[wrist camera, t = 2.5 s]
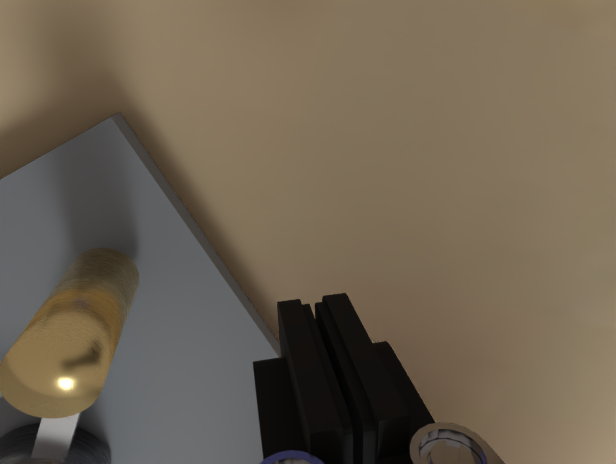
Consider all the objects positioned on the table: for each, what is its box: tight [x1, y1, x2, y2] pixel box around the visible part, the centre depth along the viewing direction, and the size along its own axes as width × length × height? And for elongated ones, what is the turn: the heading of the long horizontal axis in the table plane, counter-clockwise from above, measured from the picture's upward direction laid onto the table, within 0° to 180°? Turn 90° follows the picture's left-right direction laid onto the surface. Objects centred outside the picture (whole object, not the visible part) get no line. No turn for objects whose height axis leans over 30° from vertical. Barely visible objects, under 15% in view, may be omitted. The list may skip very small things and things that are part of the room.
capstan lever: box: [0, 248, 140, 464], centre depth 15 cm, size 14×5×6 cm, turn 157°
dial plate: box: [0, 112, 281, 464], centre depth 20 cm, size 22×22×2 cm
